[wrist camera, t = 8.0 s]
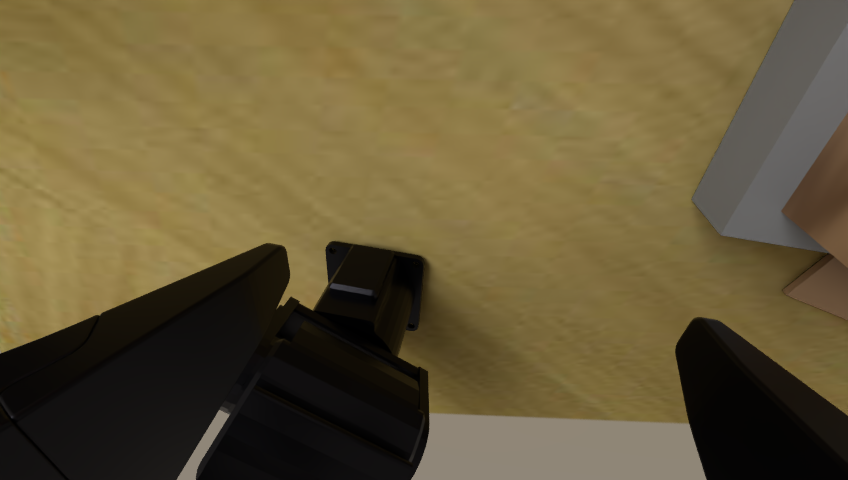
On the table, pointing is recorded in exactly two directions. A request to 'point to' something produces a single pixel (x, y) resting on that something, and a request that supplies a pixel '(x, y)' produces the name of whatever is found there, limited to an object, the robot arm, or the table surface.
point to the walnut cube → (825, 197)
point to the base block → (780, 128)
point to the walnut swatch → (823, 286)
